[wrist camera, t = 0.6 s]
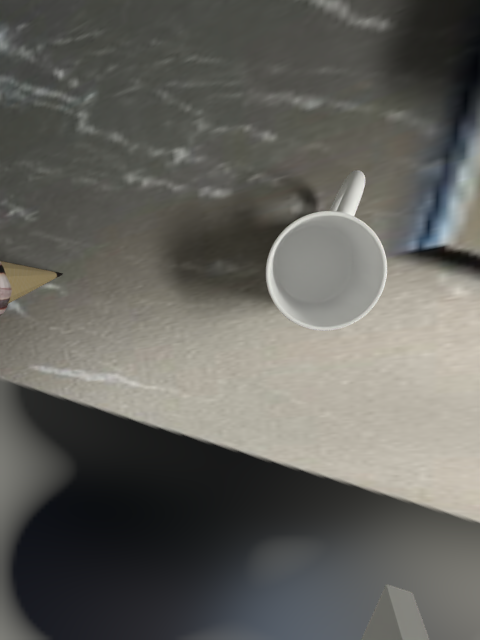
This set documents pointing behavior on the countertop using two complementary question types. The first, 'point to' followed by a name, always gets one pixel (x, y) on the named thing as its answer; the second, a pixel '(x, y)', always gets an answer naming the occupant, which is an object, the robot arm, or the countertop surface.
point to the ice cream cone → (20, 281)
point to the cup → (328, 264)
